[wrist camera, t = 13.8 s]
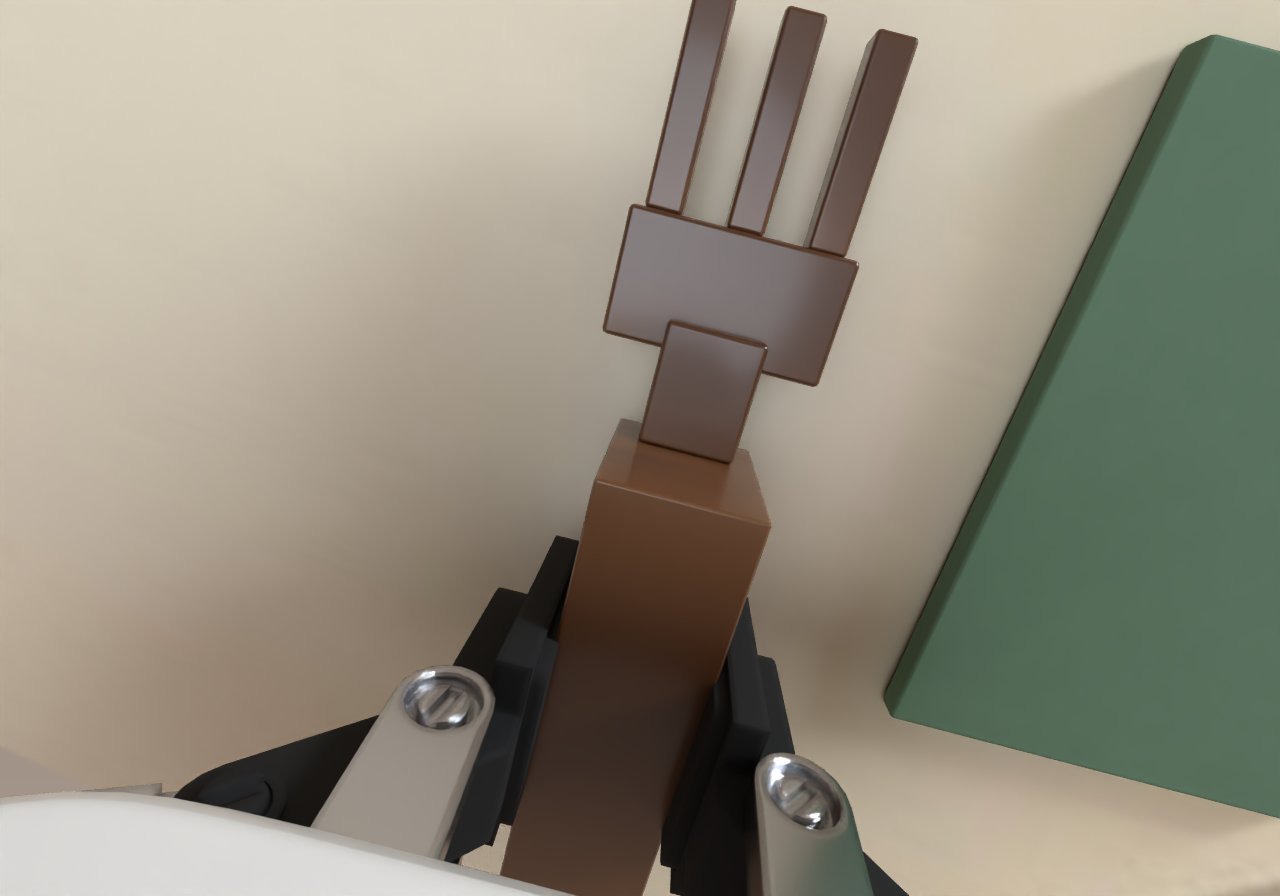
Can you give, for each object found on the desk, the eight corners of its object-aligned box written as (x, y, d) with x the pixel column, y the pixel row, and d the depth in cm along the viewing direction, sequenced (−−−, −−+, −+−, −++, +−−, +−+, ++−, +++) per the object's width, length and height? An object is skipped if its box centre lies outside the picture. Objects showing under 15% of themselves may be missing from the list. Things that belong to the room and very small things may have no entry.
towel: (1311, 810, 13) (1339, 835, 13) (880, 698, 13) (890, 718, 13) (1792, 206, 9) (1865, 201, 9) (1181, 45, 9) (1214, 30, 9)
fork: (669, 788, 13) (663, 945, 10) (512, 747, 13) (459, 892, 10) (919, 54, 9) (1042, -57, 6) (683, -7, 9) (679, -149, 6)
